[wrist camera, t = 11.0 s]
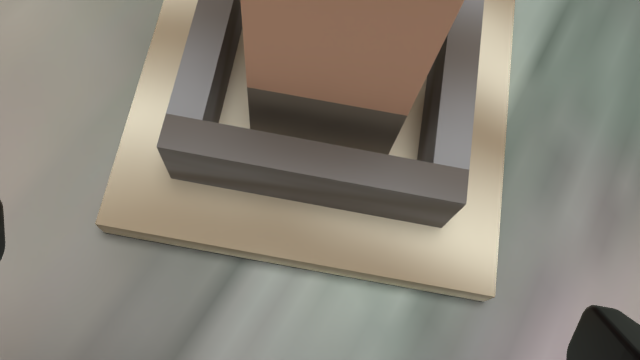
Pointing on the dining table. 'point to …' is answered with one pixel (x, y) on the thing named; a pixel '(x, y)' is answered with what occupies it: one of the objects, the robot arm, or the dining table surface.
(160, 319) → the dining table surface
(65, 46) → the dining table surface
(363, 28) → the brown rectangular block
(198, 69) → the square socket base
